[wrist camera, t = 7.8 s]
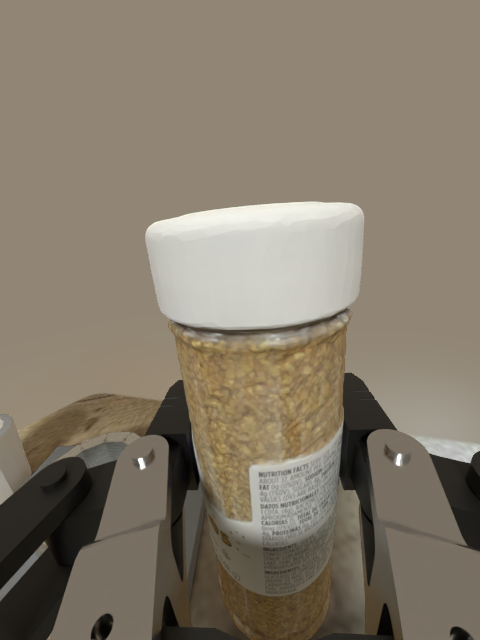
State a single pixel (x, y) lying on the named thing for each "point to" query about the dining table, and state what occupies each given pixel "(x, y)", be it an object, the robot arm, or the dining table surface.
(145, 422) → the dining table surface
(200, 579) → the dining table surface
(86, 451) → the stone block collar
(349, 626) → the dining table surface
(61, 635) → the robot arm
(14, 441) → the white tapered cup
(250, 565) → the sprinkles bottle
